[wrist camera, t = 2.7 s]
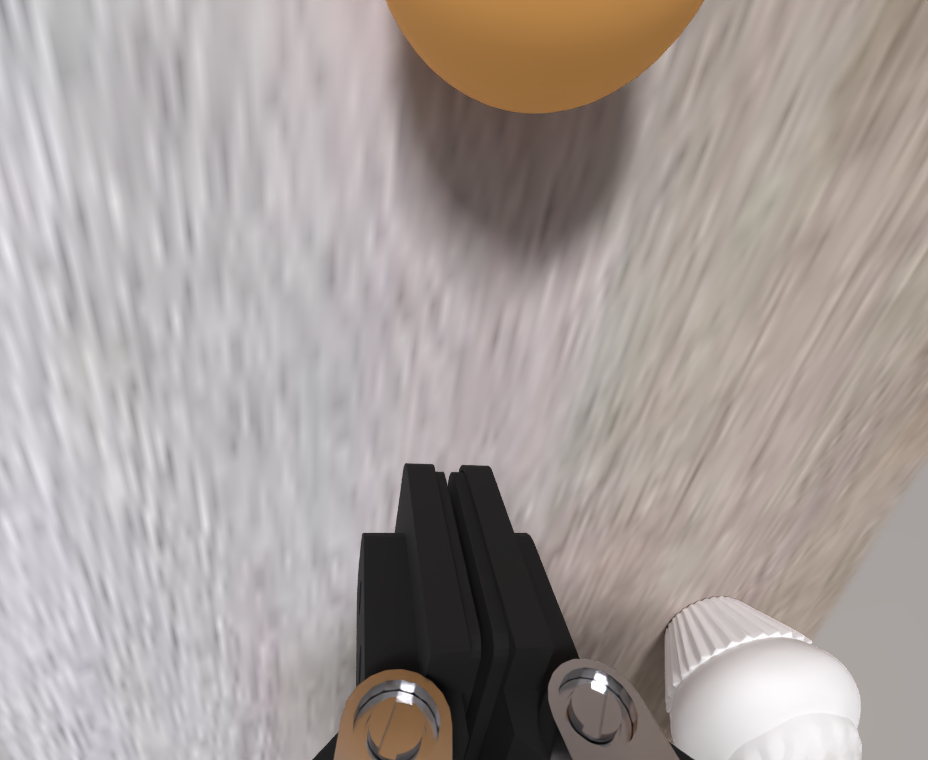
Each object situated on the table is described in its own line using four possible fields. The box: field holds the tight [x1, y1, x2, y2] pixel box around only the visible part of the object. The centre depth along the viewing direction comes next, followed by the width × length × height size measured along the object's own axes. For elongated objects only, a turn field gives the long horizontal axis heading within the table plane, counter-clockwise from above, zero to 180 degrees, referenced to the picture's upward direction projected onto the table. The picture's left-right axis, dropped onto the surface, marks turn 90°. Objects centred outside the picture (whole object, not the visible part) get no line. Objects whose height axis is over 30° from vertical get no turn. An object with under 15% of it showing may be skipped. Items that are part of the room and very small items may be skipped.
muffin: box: [665, 596, 862, 760], centre depth 17 cm, size 6×6×7 cm
